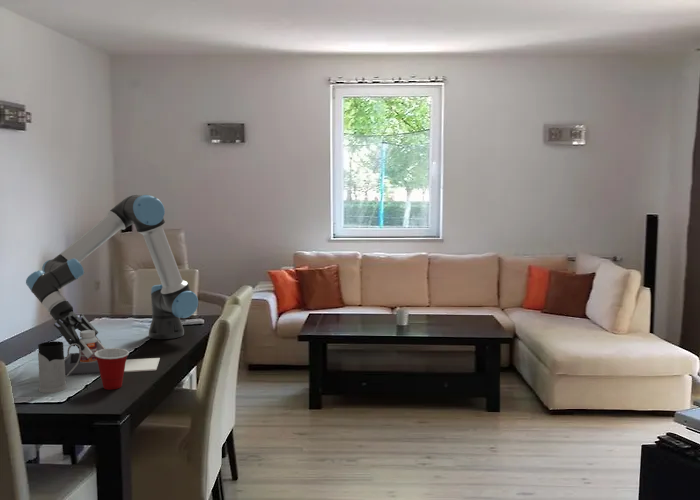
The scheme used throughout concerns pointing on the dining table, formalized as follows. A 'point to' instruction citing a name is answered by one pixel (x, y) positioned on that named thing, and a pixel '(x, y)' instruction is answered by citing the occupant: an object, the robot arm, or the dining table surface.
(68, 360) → the mailer box
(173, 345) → the dining table surface
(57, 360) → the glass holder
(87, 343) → the pill bottle
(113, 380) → the plastic cup
